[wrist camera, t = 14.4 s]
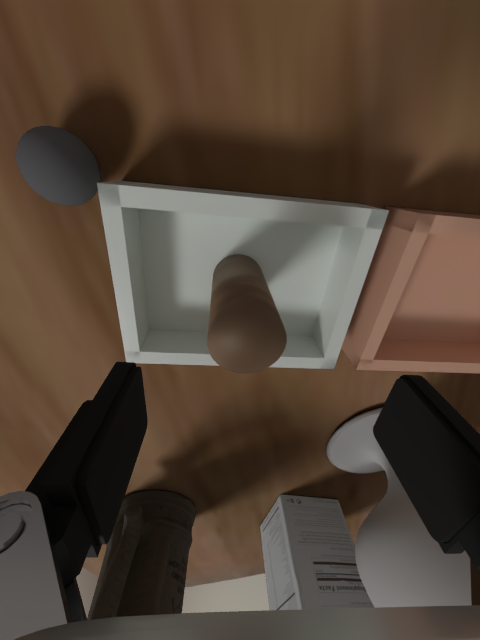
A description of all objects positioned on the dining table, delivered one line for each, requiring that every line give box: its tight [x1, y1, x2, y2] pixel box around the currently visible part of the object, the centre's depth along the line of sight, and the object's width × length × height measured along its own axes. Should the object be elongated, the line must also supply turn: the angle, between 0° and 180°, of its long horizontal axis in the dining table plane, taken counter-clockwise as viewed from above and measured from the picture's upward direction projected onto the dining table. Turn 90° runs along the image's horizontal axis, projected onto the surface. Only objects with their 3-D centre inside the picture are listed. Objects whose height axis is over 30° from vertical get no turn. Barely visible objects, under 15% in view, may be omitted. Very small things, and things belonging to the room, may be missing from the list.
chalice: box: [326, 408, 472, 608], centre depth 24 cm, size 14×14×15 cm
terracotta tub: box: [341, 206, 480, 373], centre depth 19 cm, size 15×11×4 cm
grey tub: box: [97, 181, 389, 369], centre depth 18 cm, size 15×11×4 cm
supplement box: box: [260, 495, 375, 610], centre depth 31 cm, size 10×9×17 cm
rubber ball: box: [16, 126, 100, 206], centre depth 14 cm, size 4×4×4 cm
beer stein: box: [87, 490, 196, 620], centre depth 26 cm, size 15×11×20 cm
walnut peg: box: [207, 254, 287, 373], centre depth 15 cm, size 4×4×8 cm
